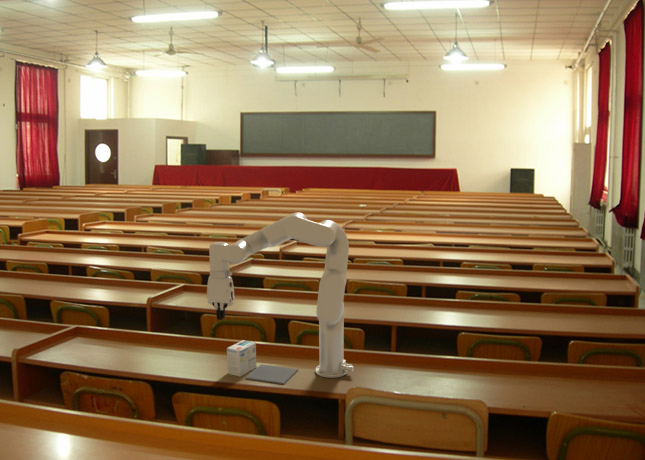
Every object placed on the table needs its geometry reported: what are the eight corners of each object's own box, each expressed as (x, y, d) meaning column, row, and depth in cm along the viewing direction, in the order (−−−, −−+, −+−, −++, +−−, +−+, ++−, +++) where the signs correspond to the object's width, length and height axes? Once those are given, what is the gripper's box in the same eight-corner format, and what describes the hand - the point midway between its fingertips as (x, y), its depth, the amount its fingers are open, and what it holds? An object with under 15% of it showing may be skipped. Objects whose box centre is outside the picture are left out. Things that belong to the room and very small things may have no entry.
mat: (297, 370, 246) (297, 369, 246) (284, 384, 233) (284, 383, 233) (261, 365, 251) (261, 364, 251) (245, 378, 238) (245, 377, 238)
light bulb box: (243, 364, 252) (243, 339, 251) (257, 367, 249) (256, 342, 247) (226, 373, 243) (226, 347, 242) (240, 377, 240) (239, 350, 238)
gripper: (241, 273, 244) (242, 318, 247) (207, 270, 249) (208, 314, 252) (232, 277, 237) (233, 323, 240) (198, 274, 242) (199, 319, 245)
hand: (220, 318), depth 246 cm, fingers closed
